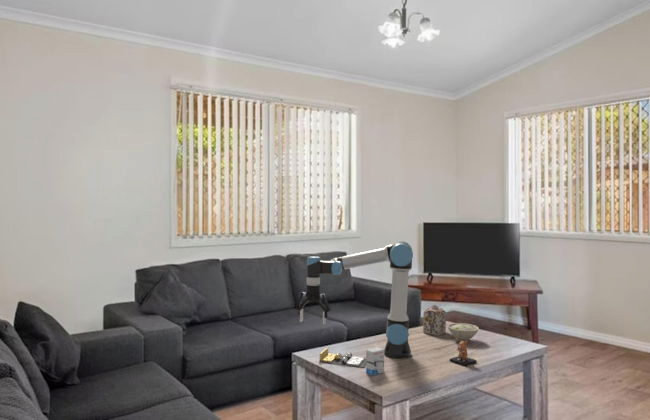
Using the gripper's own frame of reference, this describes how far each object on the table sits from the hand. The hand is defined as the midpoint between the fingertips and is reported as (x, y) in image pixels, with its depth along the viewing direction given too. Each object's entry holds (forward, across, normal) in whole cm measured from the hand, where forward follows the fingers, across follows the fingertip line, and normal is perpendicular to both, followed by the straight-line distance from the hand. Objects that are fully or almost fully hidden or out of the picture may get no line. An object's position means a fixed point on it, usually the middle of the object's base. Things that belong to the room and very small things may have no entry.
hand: (312, 322), depth 269 cm
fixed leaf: (+19, -24, +1) cm, 30 cm away
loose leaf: (+19, -12, +1) cm, 22 cm away
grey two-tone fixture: (+19, -19, 0) cm, 27 cm away
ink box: (+19, -39, +12) cm, 45 cm away
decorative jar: (+19, -58, -76) cm, 98 cm away
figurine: (+19, -80, -21) cm, 85 cm away
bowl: (+19, -77, -63) cm, 101 cm away
